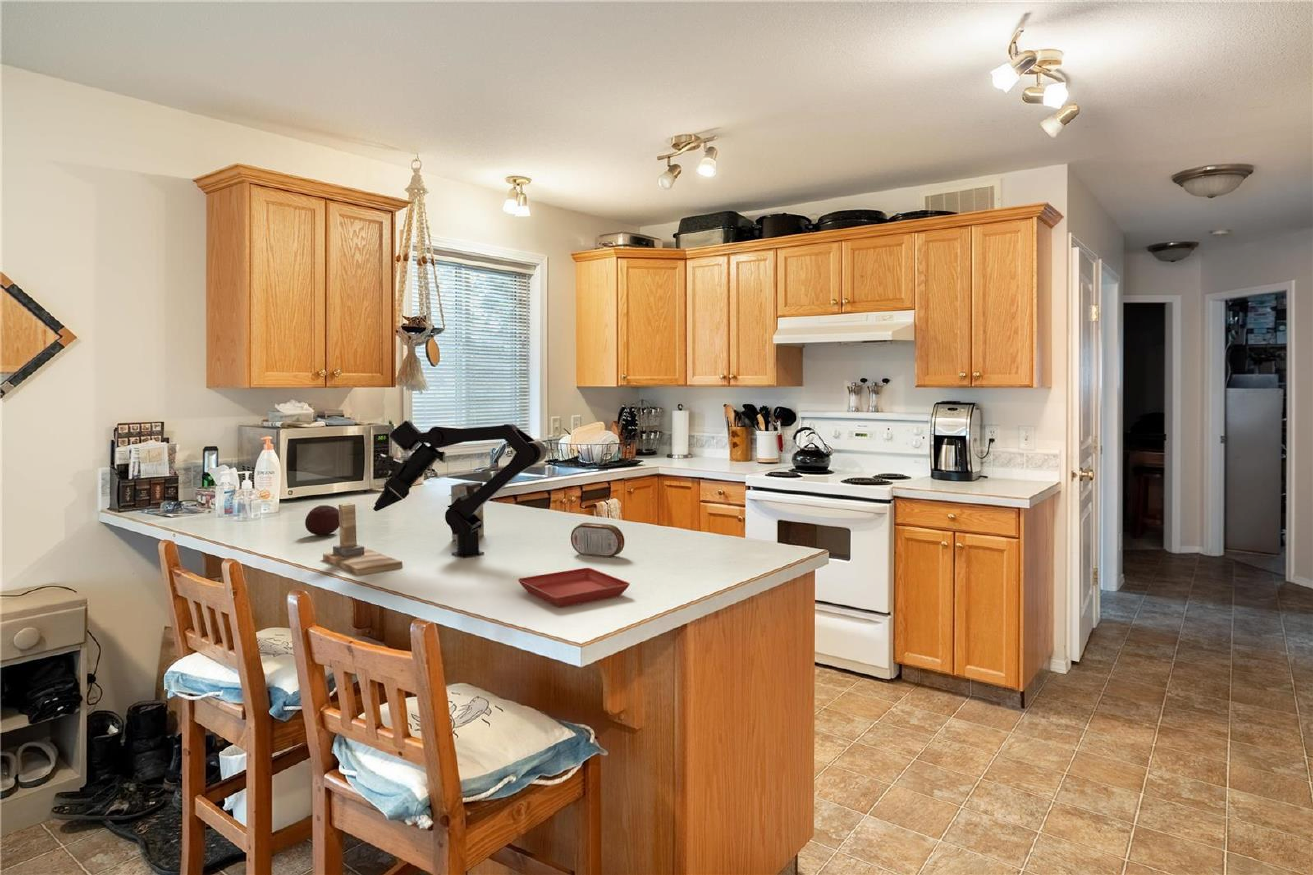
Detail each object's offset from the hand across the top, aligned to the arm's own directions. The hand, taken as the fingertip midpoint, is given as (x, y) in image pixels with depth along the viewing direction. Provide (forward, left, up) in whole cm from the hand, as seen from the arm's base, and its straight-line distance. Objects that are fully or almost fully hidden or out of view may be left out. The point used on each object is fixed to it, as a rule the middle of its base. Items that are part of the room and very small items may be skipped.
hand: (375, 507), depth 205 cm
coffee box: (+8, -31, -14) cm, 35 cm away
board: (-4, +6, -13) cm, 15 cm away
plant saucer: (-66, -16, -14) cm, 69 cm away
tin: (-39, -43, -14) cm, 59 cm away
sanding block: (+3, +6, -12) cm, 14 cm away
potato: (+43, -1, -14) cm, 46 cm away
